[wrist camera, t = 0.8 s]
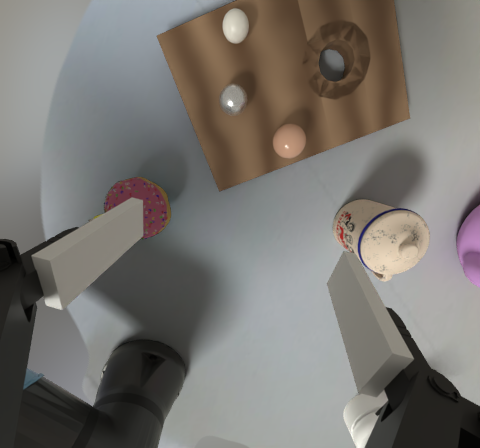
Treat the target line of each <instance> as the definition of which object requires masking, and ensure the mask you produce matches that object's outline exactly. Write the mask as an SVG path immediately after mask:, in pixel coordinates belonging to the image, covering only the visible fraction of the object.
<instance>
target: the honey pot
mask: <svg viewBox="0 0 480 448" xmlns="http://www.w3.org/2000/svg"><path fill="white" fill-rule="evenodd" d="M387 401H388V398H387V396H386V393H385V391H383V392H382V393H381V394H380V395H379V396H378V397H377V398H376V397H373V396H369V395H365V394H362V393H361V394H359V395H357V396H355V397H354V398H353V399H352V400H351V401H349V403H348V404H347V405H346V407H345V409H344V412H343V415H344V420H345V422H346V425H347V427H348V429H349V432H350V434H351V436H352V439H353V441H354V443H355V445H356V448H365V445H366V443H367V441H368V439H369V437H370V434H371V432H372V430H373V428H374V426H375V423H376V421H377V419H378V417H379V415H378V416H377V415H376V414H375V413H376V412H377V411H378V410H379V409H380V408H381V407H382V406H383V405H384V404H385V403H386V402H387Z"/></svg>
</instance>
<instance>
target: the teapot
mask: <svg viewBox="0 0 480 448" xmlns="http://www.w3.org/2000/svg"><path fill="white" fill-rule="evenodd" d="M457 252H458V256H459V259H460V262H461V265H462V267H463V270H464V273H465V275H466V277H467V278H468V279H469V280H470V281H471V282H472V283H473V284H475V285H476V286H478V287H480V205H479V206H477V207H476V208H475V209H474V210H473V211H472V212H471V213H470V214H469V215H468V216H467V218H466V219H465V221H464V222H463V224H462V226H461V228H460V230H459V233H458V236H457Z"/></svg>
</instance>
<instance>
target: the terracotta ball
mask: <svg viewBox="0 0 480 448" xmlns="http://www.w3.org/2000/svg"><path fill="white" fill-rule="evenodd" d="M305 145H306V135H305V133H304V131H303V129H302V128H301V127H300V126H298V125H295V124H286V125H283V126H281V127H280V128H279V129H278V130H277V131H276V133H275V134H274V137H273V148H274V150H275V152H276V153H277V154H278V155H279V156H280V157H283V158H287V159H290V158H294V157H296V156H298V155H299V154H300V153H301V152H302V151H303V149H304V147H305Z"/></svg>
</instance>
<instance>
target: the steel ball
mask: <svg viewBox="0 0 480 448" xmlns="http://www.w3.org/2000/svg"><path fill="white" fill-rule="evenodd" d="M219 104H220V107H221V109H222V110H223V111H224V112H225V113H226V114H227V115H230V116H237V115H239V114H241V113H242V112H243V111H244V110H245V108H246V106H247V94H246V92H245V90H244V89H243V87H241V86H240V85H238V84H234V83H232V84H228V85H226V86H225V87H224V88H223V89H222V90H221V92H220V95H219Z"/></svg>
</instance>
